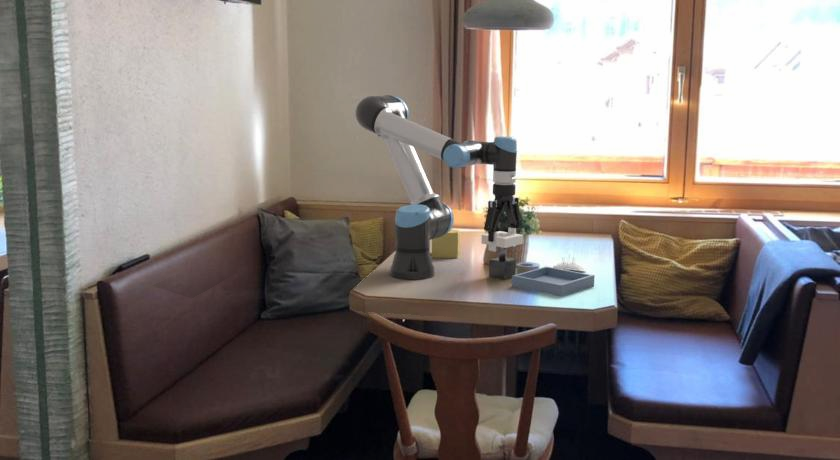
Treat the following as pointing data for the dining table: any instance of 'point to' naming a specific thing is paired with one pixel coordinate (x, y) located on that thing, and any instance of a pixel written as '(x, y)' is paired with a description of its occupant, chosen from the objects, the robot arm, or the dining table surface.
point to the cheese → (446, 245)
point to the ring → (504, 239)
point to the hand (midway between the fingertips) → (502, 248)
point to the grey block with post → (502, 266)
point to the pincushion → (569, 265)
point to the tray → (553, 281)
